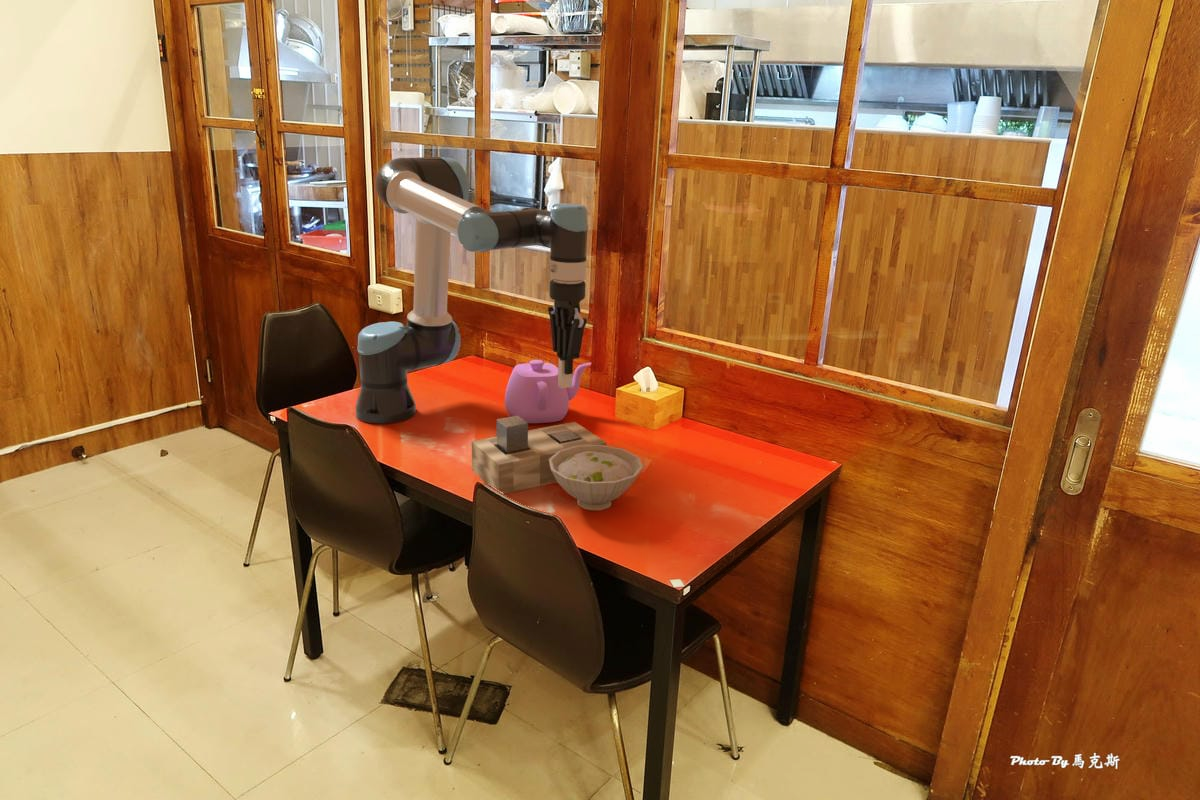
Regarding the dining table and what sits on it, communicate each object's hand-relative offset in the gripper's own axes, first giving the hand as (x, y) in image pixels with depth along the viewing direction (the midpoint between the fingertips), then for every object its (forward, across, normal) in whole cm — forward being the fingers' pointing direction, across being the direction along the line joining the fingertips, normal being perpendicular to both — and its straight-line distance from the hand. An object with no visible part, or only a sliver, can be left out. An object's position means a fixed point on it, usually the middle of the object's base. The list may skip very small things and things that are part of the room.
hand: (565, 386), depth 175 cm
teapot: (+19, -30, +10) cm, 37 cm away
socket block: (+19, 0, -6) cm, 20 cm away
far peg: (+18, 0, 0) cm, 18 cm away
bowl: (+19, +20, -3) cm, 27 cm away
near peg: (+12, 0, -13) cm, 18 cm away
